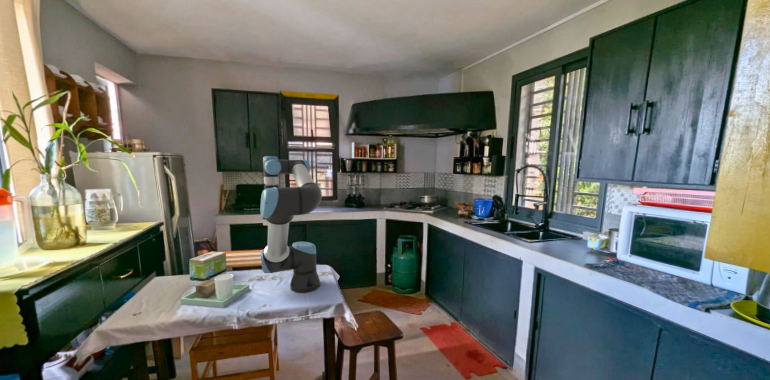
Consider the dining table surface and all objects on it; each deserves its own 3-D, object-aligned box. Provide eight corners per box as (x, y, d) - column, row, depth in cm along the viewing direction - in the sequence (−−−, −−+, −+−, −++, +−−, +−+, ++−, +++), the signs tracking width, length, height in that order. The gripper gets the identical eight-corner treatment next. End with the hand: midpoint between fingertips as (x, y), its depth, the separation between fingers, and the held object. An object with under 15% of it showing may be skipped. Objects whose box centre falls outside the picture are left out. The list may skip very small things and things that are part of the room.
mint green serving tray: (249, 290, 143) (249, 284, 143) (223, 308, 125) (222, 302, 124) (211, 287, 146) (211, 282, 146) (180, 305, 128) (180, 298, 128)
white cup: (229, 291, 140) (228, 272, 139) (237, 296, 135) (236, 276, 134) (212, 298, 133) (211, 277, 132) (220, 302, 129) (219, 281, 128)
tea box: (206, 288, 146) (204, 260, 144) (189, 286, 148) (187, 259, 146) (227, 276, 160) (226, 251, 159) (212, 275, 162) (211, 250, 161)
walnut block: (217, 293, 139) (216, 281, 138) (207, 298, 133) (206, 286, 132) (206, 292, 140) (205, 280, 139) (196, 297, 134) (195, 285, 133)
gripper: (277, 183, 167) (278, 218, 169) (250, 186, 142) (252, 227, 144) (289, 183, 166) (290, 218, 168) (264, 186, 141) (266, 227, 143)
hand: (272, 222), depth 156 cm, fingers open, 13 cm apart
